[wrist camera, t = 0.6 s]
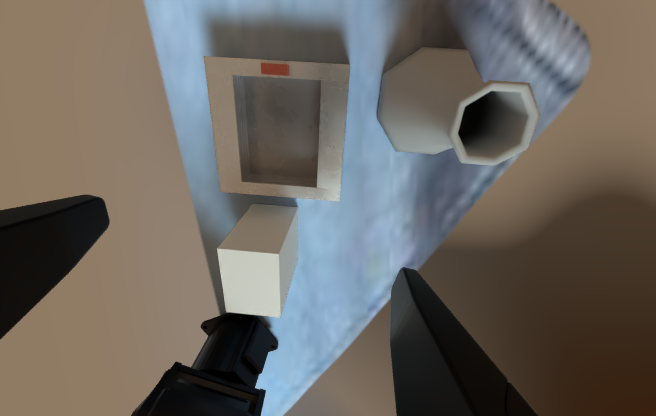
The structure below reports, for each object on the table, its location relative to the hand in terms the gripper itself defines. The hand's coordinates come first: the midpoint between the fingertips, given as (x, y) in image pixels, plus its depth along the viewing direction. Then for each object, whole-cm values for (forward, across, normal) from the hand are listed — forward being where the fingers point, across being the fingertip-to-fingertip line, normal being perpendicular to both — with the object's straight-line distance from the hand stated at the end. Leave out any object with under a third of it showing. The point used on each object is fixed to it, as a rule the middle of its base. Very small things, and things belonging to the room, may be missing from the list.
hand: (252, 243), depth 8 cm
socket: (+14, +2, +1) cm, 14 cm away
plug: (+14, +2, +10) cm, 17 cm away
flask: (+15, -7, -3) cm, 17 cm away
